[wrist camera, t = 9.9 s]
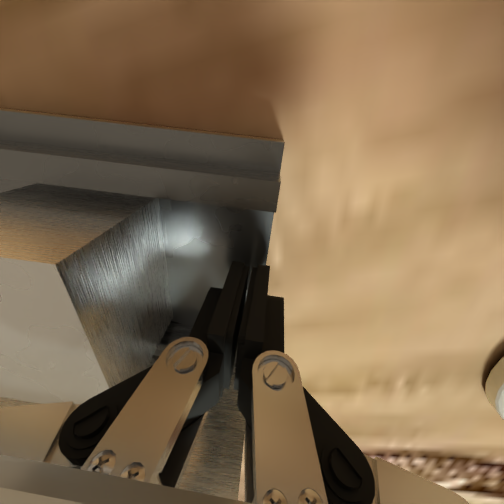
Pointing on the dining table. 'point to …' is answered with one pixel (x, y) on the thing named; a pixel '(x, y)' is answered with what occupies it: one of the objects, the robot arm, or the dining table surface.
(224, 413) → the grey compartment tray
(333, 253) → the dining table surface
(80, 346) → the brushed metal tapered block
